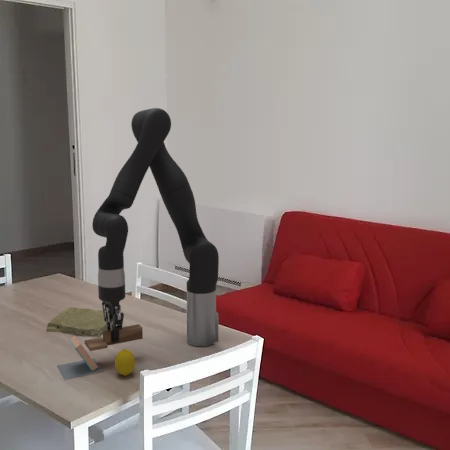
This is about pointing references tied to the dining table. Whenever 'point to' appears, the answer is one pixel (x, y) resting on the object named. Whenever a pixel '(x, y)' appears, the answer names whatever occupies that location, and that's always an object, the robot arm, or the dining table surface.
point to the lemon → (125, 362)
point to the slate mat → (77, 369)
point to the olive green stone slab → (79, 322)
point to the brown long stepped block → (124, 336)
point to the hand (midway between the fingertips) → (113, 339)
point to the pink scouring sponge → (83, 353)
